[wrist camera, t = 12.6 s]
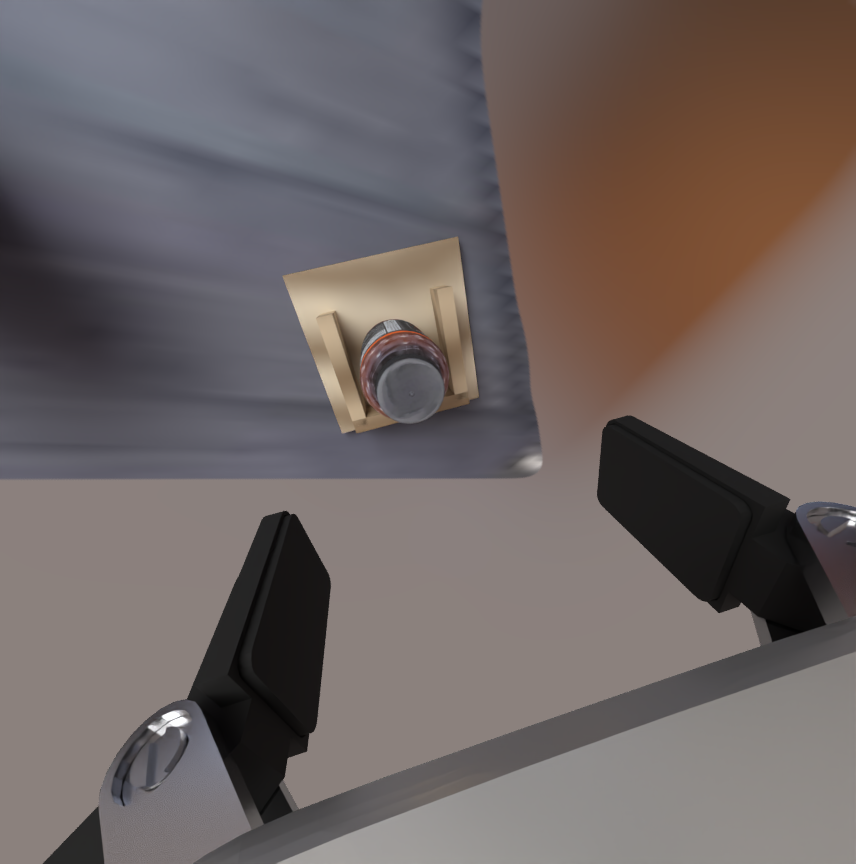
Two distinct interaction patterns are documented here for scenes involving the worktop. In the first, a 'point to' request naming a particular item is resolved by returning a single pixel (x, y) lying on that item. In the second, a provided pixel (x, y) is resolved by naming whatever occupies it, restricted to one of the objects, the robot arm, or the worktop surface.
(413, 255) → the cradle
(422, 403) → the supplement bottle
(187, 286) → the worktop surface
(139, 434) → the worktop surface
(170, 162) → the worktop surface
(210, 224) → the worktop surface
